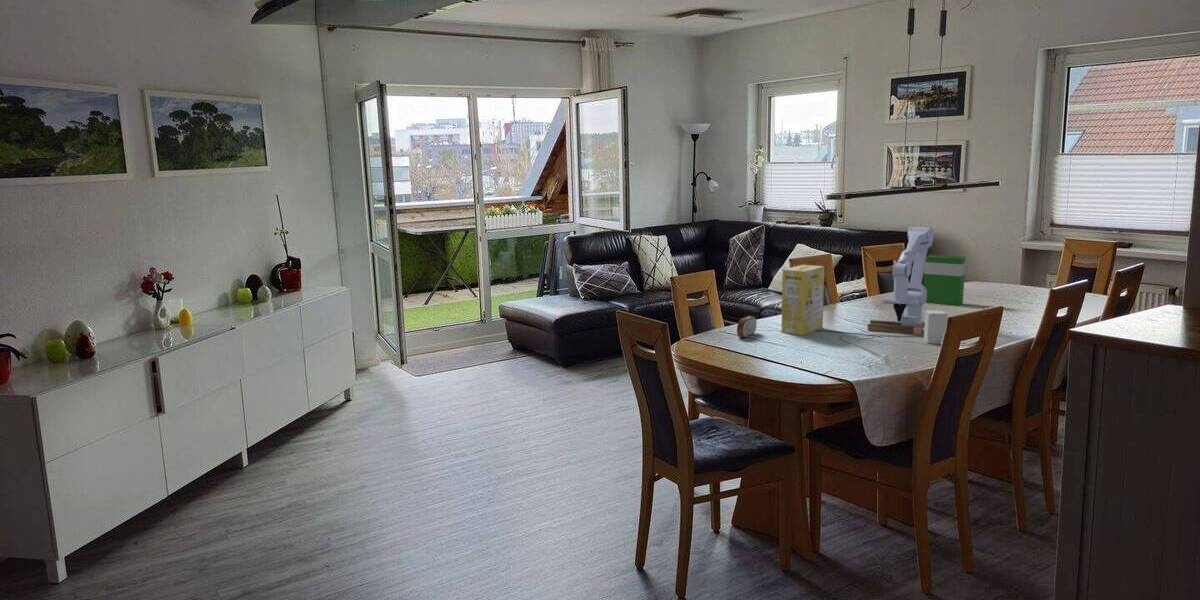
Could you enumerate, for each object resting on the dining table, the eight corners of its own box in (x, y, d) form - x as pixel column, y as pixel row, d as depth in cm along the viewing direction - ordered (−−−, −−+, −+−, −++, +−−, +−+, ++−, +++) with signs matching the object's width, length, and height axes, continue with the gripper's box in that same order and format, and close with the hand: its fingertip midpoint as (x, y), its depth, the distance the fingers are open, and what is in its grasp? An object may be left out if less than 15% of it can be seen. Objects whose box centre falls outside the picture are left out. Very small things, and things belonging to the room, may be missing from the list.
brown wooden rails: (870, 326, 365) (870, 320, 364) (922, 330, 355) (922, 323, 355) (867, 330, 356) (867, 324, 356) (921, 334, 347) (921, 327, 347)
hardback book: (922, 302, 416) (924, 256, 411) (926, 300, 421) (929, 254, 417) (958, 306, 405) (961, 258, 400) (962, 303, 411) (965, 256, 406)
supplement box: (946, 344, 330) (947, 313, 328) (926, 343, 332) (928, 313, 329) (942, 339, 337) (943, 310, 335) (923, 339, 339) (924, 309, 337)
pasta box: (801, 324, 371) (802, 264, 366) (822, 327, 365) (824, 266, 359) (781, 332, 358) (782, 269, 353) (803, 335, 351) (804, 271, 346)
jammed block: (902, 329, 357) (902, 315, 356) (916, 330, 355) (917, 316, 354) (900, 331, 352) (901, 318, 351) (915, 332, 350) (916, 319, 348)
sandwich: (751, 332, 360) (751, 313, 358) (757, 333, 358) (757, 314, 356) (736, 339, 348) (736, 319, 346) (742, 339, 346) (743, 320, 344)
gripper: (882, 291, 351) (880, 321, 354) (917, 292, 345) (916, 323, 348) (883, 288, 358) (882, 318, 360) (919, 290, 352) (917, 320, 354)
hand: (899, 320), depth 354 cm, fingers closed
